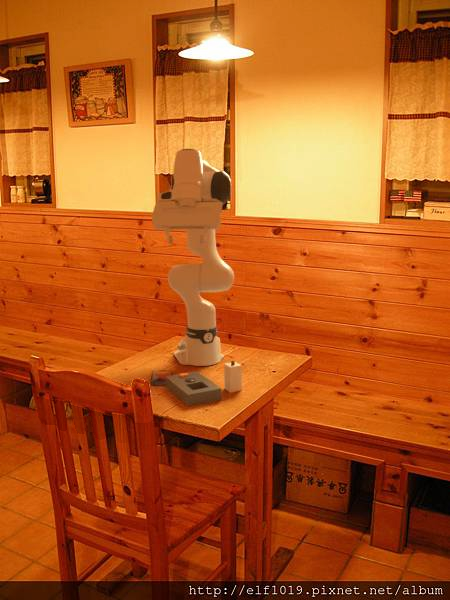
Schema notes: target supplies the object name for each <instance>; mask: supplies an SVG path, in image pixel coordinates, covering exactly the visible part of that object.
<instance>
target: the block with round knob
mask: <svg viewBox="0 0 450 600" xmlns="http://www.w3.org/2000/svg"><path fill="white" fill-rule="evenodd" d="M223 370H224V373H223V374H224V377H223V378H224V389H225V390H226V391H228V392H229V393H235V392H240V391H242V389H243V388H242V387H243V386H242V384H243V381H242V380H243V379H242V378H243V377H242V370H243V367H242V364H240V363H238V362H237V361H235V360H231V362H227V363H224V368H223Z"/></svg>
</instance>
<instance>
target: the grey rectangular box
mask: <svg viewBox="0 0 450 600" xmlns="http://www.w3.org/2000/svg"><path fill="white" fill-rule="evenodd" d="M165 384H166V386H165V388H166V389H167V390H168V391H169V392H170V393H172V394H173V395H174V396H175V397H176V398H177V399H179V400H180V401H181V402H182V403H184V404H185V405H186V406H187V407H192V406H198V405H203V404H208V403H213V402H217V401H218V402H219V401H222V387H220V386H218V385H217V384H215V383H214V382H213V381H211V380H210V379H209V378H207V377H205V376H204V375H203V374H201V373H200V372H199V371H198V370H196V371H188V372H182V373H178V374H172V375H171V376H165Z"/></svg>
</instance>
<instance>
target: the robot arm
mask: <svg viewBox="0 0 450 600" xmlns="http://www.w3.org/2000/svg"><path fill="white" fill-rule="evenodd" d="M170 180H171V181H170V183H171V184H170V186H171V187H170V189H169V190H168V191H164V192H160V193H158V194H157V197H156V198H157V202H156V204H155V205H154V208H153V212H152V219H151V222H152V227H153V229H155V230H156V231H157V230H161V231H162V230H163V231H164V233H165V235H166V237H167V240H166V241H167V243H168V244H173V243H174V236H173V235H170V231H171V230H186V247H187V250H188V251H189V252H190V253H191V254H193V255H196V256H197V257H199V258H201V260H202V263H182V264H178V265H177V264H176V265H173V266H172V267H170V269H169V271H168V273H167V283H168V285H169V287H170V289H172V291H174V292H175V293H176V294H178V295H179V297H180V299H182V301H183V303H184V304H185V308H186V314H187V315H186V317H187V325H186V328H185V329H186V330H185V335H184V336H183V338H181V340H180V341H179V343H178V344H177V350H175V351H174V352H173V355H174V356H175V358H176V360H177V361H178V362H179V364H180V365H183V366H185V365H187V366H188V365H189V366H195V367H203V366H204V367H205V366H206V367H207V366H212V365H216V364H218V363H220V362H221V360H223V359H224V358H225V355H224V354H222V348H221V339H220V337H218V336H217V335H218V326H217V319H216V318H217V315H216V314H217V313H216V307H215V305H214V304H213V303H212V302H211V301H208V300H207V299H205V298H203V297H202V296H201V295H200V293H220V292H225V291H229V290H230V289H232V287H233V285H234V283H235V273H234V270H233V269H232V267H231V266H230V265H228V264H227V263H226V262H225V261H224V260H223V259H222V258H221V256H220V254H219V253H218V249H217V248H218V247H217V241H216V230H219V229H220V228H221V227H222V221H221V220H222V218H221V212H222V211H223V206H225V204H226V203H227V202H228V201H229V199H230V198H231V195H232V189H233V188H232V187H233V185H232V181H231V178H230V175H229V174H228V173H226V171H224V170H220V169H217V168H215V167H212V166H211V165H210V163H208V162H207V161H206V160H204V159H202V154H201V151H200V150H197V149H194V148H182V149H179V150H178V151H176V153H175V158H174V161H173V173H172V174H171V179H170Z"/></svg>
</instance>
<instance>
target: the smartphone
mask: <svg viewBox="0 0 450 600" xmlns="http://www.w3.org/2000/svg"><path fill="white" fill-rule="evenodd" d="M171 375H173V371H172V370H171V369H164V370H163V369H160V370H152V373H151V380H150V386H151V387H163V386H164V387H166V384H165V376H171Z"/></svg>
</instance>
